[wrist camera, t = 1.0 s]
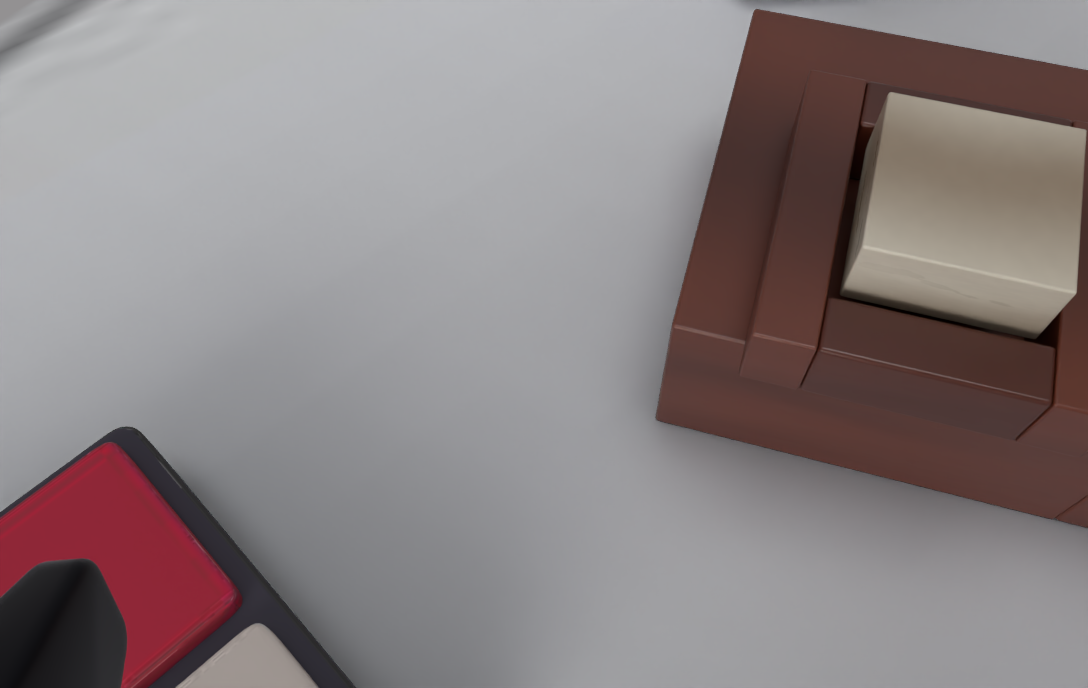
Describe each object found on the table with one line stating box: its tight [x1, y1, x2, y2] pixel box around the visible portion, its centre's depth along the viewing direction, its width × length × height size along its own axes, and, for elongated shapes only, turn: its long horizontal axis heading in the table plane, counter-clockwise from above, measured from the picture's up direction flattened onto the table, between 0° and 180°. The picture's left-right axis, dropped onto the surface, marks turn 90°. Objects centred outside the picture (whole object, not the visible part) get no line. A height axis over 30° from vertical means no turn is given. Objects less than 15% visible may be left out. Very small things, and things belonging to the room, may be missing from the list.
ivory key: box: [840, 92, 1086, 339], centre depth 19 cm, size 4×4×2 cm
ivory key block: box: [656, 9, 1088, 519], centre depth 23 cm, size 10×10×7 cm
